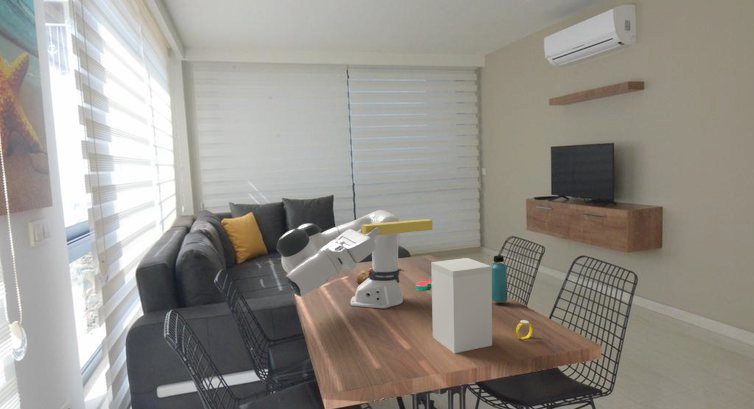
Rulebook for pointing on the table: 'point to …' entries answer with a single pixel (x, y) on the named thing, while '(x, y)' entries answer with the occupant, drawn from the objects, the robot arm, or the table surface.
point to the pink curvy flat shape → (424, 285)
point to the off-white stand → (462, 304)
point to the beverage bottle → (499, 280)
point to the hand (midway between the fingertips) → (375, 227)
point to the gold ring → (522, 322)
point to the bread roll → (362, 276)
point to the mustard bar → (399, 226)
